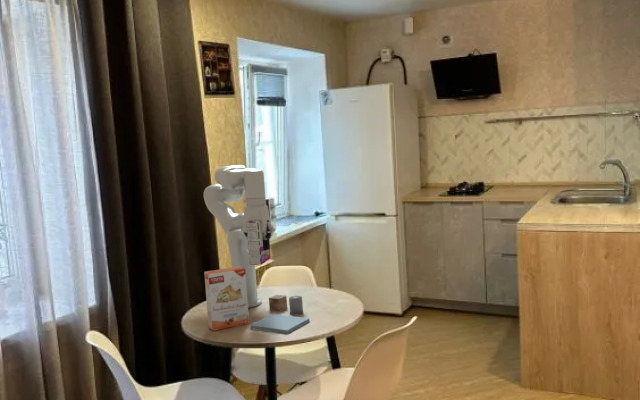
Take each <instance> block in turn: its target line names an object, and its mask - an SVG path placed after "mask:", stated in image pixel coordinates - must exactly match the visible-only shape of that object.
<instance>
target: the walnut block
mask: <svg viewBox="0 0 640 400" xmlns="http://www.w3.org/2000/svg"><path fill="white" fill-rule="evenodd" d="M268 306H269V307H268V308H269V311H275V312H282V311H283V310H285V309H288V300H287V295H285V294H284V295H283V294H275V295H271V296H270V297H268Z"/></svg>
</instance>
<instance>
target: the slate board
mask: <svg viewBox="0 0 640 400" xmlns="http://www.w3.org/2000/svg"><path fill="white" fill-rule="evenodd" d="M310 322H311V321H310V318H309V317H308V318H307V317H301V316H294V315H293V316H292V315H283V314H274V313H273V314H271V315H269V316H266V317H264V318H262V319H261V320H259V321H257V322H255V323H252V324H250V329H251V330H257V331H258V330H259V331H265V332H273V333H279V334H290V333H292V332H294V331H295V330H297V329H299V328H300V327H302V326H304V325H306V324H308V323H310Z"/></svg>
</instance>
